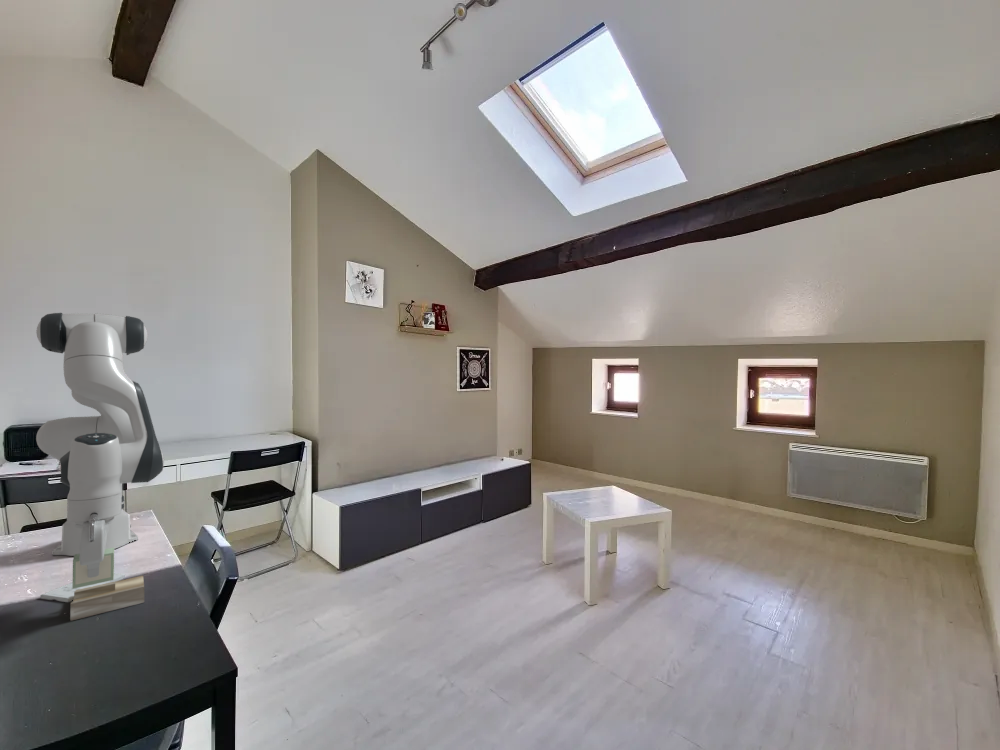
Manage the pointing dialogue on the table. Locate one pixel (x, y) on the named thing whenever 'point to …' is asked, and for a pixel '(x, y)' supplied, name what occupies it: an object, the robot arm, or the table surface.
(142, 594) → the shelf
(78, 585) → the tea box
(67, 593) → the external hard drive
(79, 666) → the table surface
